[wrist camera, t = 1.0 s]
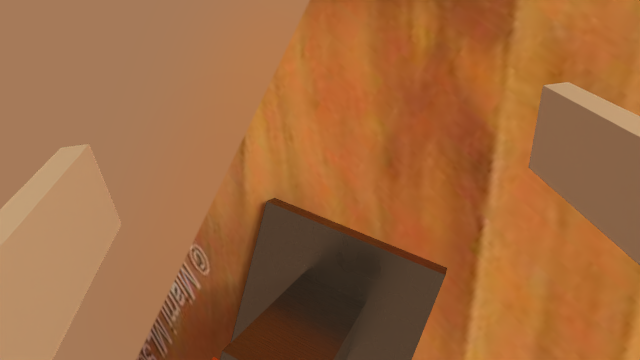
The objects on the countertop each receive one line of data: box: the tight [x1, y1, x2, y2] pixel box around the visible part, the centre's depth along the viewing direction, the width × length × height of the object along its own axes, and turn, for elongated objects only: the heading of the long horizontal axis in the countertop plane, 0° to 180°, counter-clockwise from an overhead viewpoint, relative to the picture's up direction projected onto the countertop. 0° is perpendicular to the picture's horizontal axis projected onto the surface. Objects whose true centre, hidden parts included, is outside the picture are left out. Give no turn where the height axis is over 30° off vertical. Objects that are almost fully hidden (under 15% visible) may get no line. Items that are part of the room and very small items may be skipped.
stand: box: [211, 198, 447, 360], centre depth 32 cm, size 16×16×14 cm
